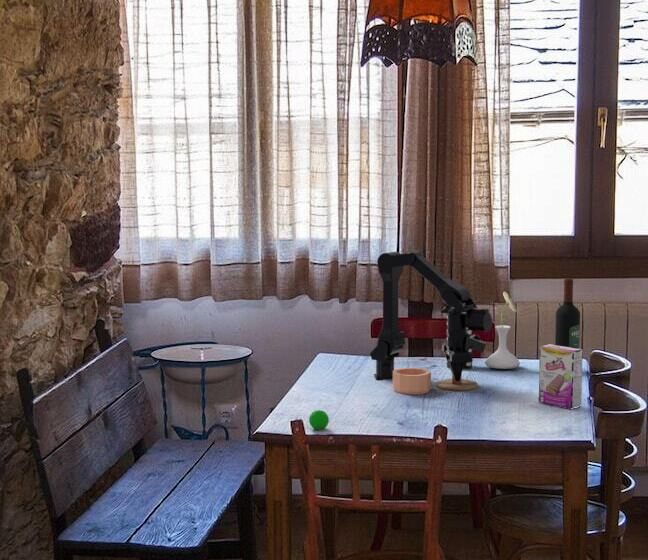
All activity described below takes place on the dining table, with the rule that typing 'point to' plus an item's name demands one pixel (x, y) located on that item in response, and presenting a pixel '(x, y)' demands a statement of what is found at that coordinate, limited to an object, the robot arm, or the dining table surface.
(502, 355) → the flower in vase
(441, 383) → the lid
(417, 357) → the dining table surface
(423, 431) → the dining table surface
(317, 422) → the green ball
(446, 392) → the mat
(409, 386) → the bowl
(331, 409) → the dining table surface
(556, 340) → the wine bottle
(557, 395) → the candy bar box
